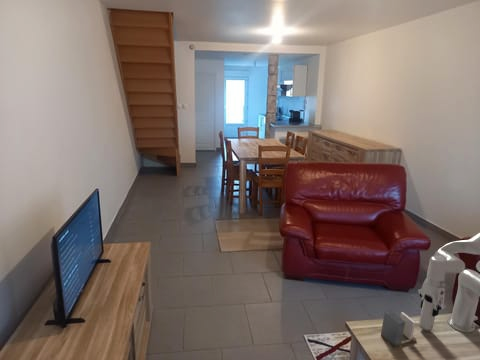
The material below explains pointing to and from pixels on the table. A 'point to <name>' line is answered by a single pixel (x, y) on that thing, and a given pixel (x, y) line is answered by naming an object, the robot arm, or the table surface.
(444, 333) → the table surface
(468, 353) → the table surface
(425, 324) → the travel mug
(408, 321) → the white flat slab
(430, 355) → the table surface
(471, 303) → the robot arm
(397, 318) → the grey bracket
